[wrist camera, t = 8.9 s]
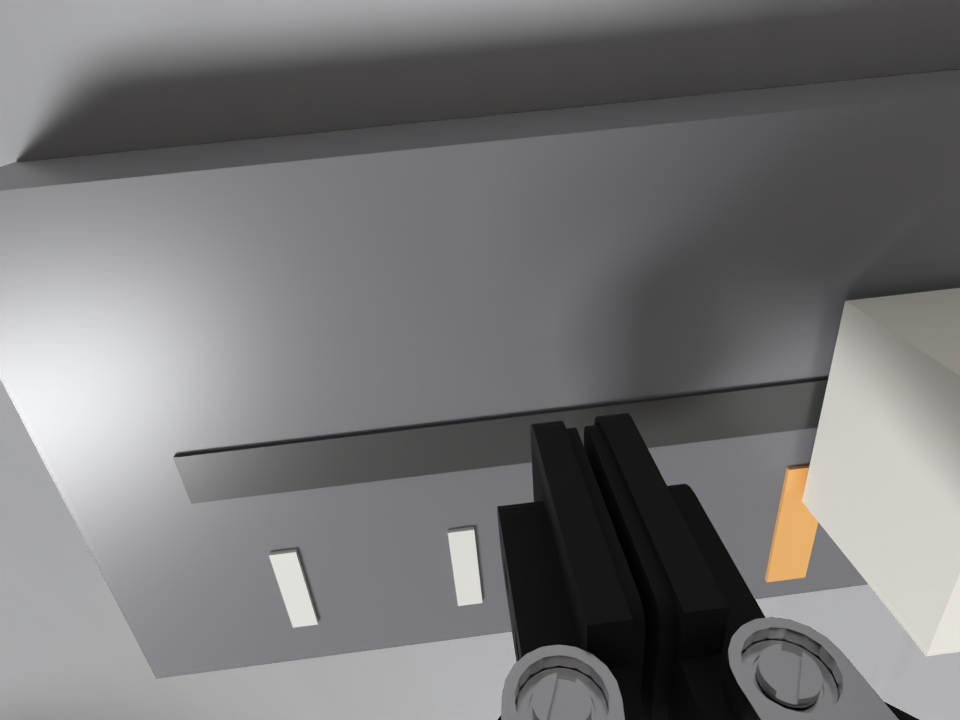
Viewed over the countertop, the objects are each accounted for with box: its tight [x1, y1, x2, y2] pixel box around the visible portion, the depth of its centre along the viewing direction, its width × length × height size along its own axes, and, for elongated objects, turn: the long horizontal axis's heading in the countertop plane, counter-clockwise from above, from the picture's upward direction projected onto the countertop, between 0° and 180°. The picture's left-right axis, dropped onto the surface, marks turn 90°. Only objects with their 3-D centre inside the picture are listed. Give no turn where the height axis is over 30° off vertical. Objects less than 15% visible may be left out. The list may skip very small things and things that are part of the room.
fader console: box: [0, 69, 960, 679], centre depth 15 cm, size 12×24×3 cm, turn 95°
